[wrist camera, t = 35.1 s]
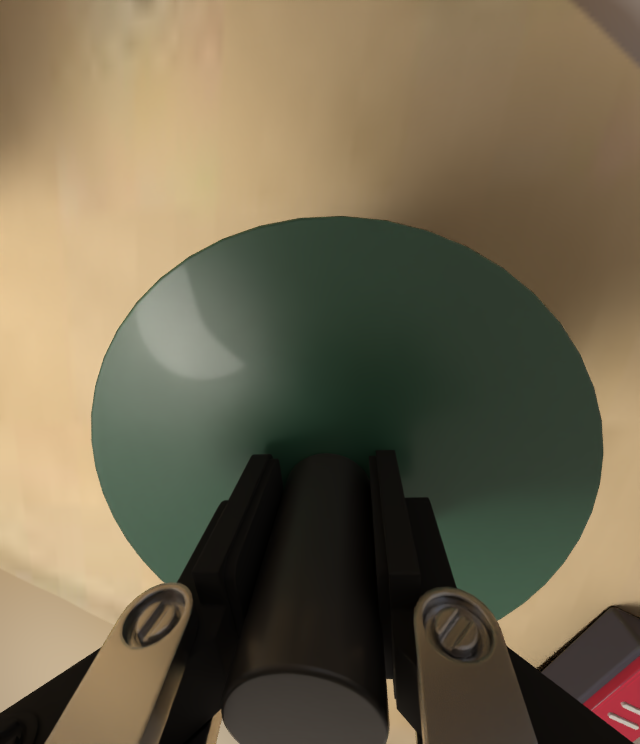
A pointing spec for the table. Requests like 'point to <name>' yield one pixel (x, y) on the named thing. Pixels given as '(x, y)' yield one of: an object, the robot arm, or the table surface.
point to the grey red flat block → (605, 671)
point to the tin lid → (344, 442)
